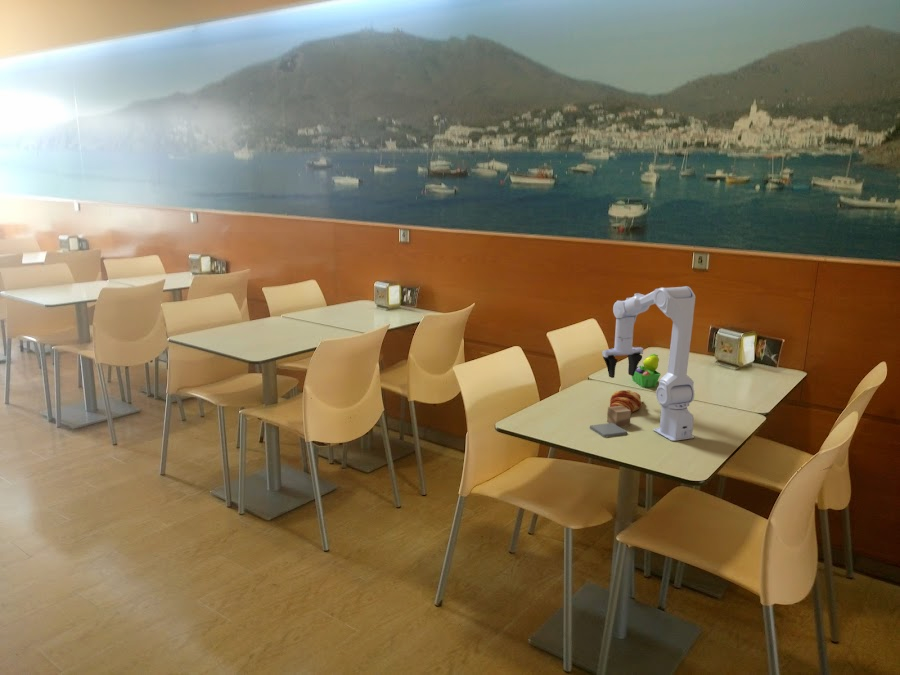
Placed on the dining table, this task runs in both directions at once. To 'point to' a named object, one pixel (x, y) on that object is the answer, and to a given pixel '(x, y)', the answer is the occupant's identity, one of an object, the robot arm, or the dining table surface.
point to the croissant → (626, 400)
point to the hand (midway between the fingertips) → (621, 376)
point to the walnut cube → (619, 416)
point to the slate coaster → (608, 429)
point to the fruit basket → (647, 372)
